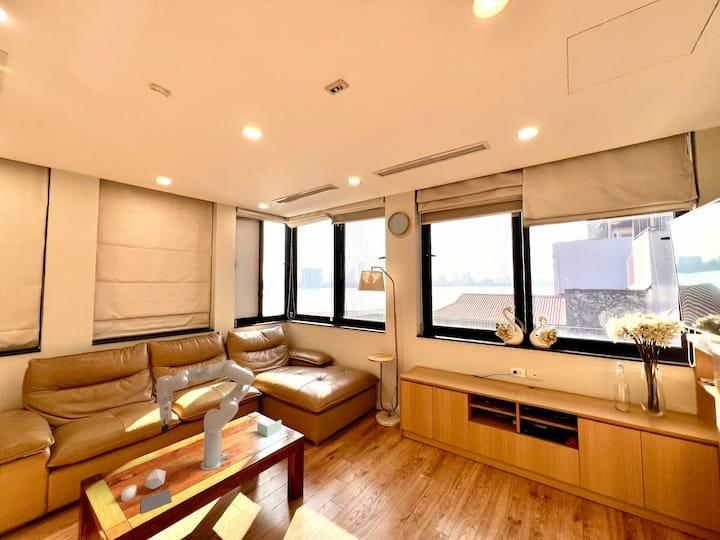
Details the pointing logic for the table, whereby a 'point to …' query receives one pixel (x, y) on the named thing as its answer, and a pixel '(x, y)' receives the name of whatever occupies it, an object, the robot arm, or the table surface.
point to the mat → (155, 501)
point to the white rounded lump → (128, 493)
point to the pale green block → (268, 428)
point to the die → (155, 479)
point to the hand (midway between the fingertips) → (165, 431)
